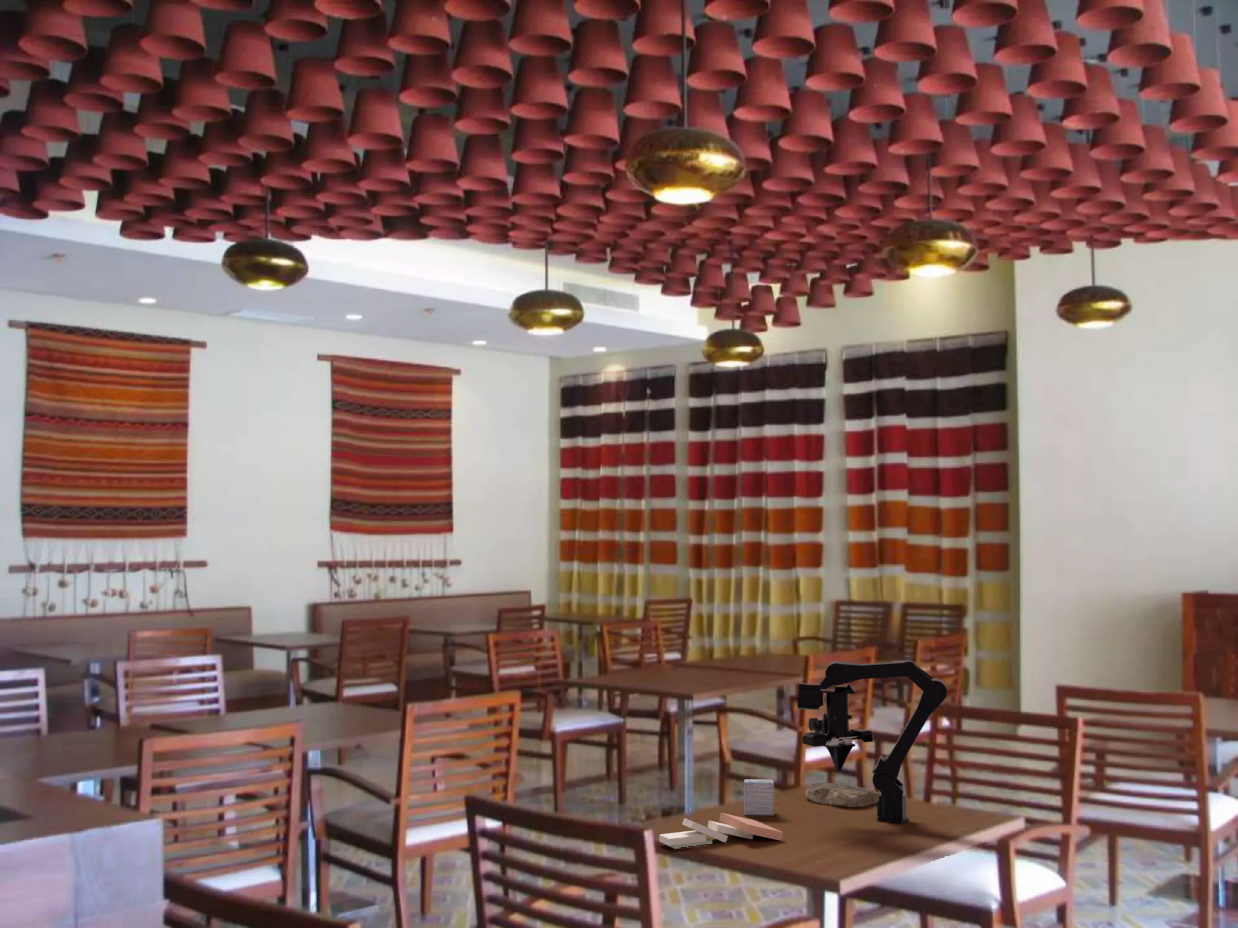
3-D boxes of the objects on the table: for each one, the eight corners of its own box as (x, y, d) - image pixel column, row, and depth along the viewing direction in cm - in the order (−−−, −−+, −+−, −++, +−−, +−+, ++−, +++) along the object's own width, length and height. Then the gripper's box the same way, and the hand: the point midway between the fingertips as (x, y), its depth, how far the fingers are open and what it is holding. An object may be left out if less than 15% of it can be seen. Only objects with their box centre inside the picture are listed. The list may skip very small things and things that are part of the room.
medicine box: (774, 812, 332) (773, 779, 333) (774, 815, 328) (774, 782, 328) (744, 811, 333) (743, 778, 334) (744, 815, 329) (743, 782, 329)
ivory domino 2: (718, 832, 304) (684, 817, 301) (727, 836, 299) (693, 821, 296) (716, 838, 303) (681, 824, 300) (725, 842, 299) (690, 827, 296)
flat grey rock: (793, 801, 348) (854, 810, 334) (793, 783, 348) (854, 791, 335) (822, 794, 358) (883, 803, 344) (822, 777, 358) (882, 785, 345)
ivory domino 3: (744, 828, 308) (708, 820, 304) (753, 832, 303) (718, 824, 300) (742, 834, 307) (707, 826, 304) (752, 839, 303) (716, 831, 299)
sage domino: (702, 836, 302) (665, 840, 298) (712, 840, 298) (674, 845, 294) (702, 842, 302) (665, 847, 298) (712, 847, 298) (674, 851, 294)
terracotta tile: (755, 820, 314) (720, 812, 311) (783, 832, 301) (747, 824, 298) (753, 828, 314) (718, 820, 310) (781, 840, 301) (746, 832, 297)
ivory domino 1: (695, 830, 302) (659, 834, 298) (706, 834, 297) (669, 838, 293) (696, 836, 302) (659, 841, 297) (706, 841, 297) (669, 845, 293)
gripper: (849, 704, 338) (850, 762, 337) (790, 708, 331) (791, 768, 330) (874, 709, 328) (875, 769, 327) (813, 713, 320) (814, 775, 320)
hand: (838, 770), depth 326 cm, fingers closed
